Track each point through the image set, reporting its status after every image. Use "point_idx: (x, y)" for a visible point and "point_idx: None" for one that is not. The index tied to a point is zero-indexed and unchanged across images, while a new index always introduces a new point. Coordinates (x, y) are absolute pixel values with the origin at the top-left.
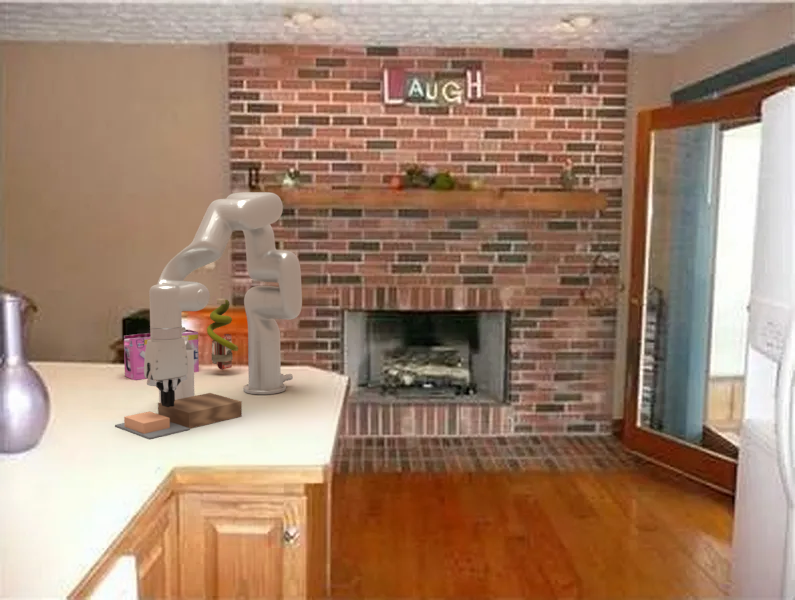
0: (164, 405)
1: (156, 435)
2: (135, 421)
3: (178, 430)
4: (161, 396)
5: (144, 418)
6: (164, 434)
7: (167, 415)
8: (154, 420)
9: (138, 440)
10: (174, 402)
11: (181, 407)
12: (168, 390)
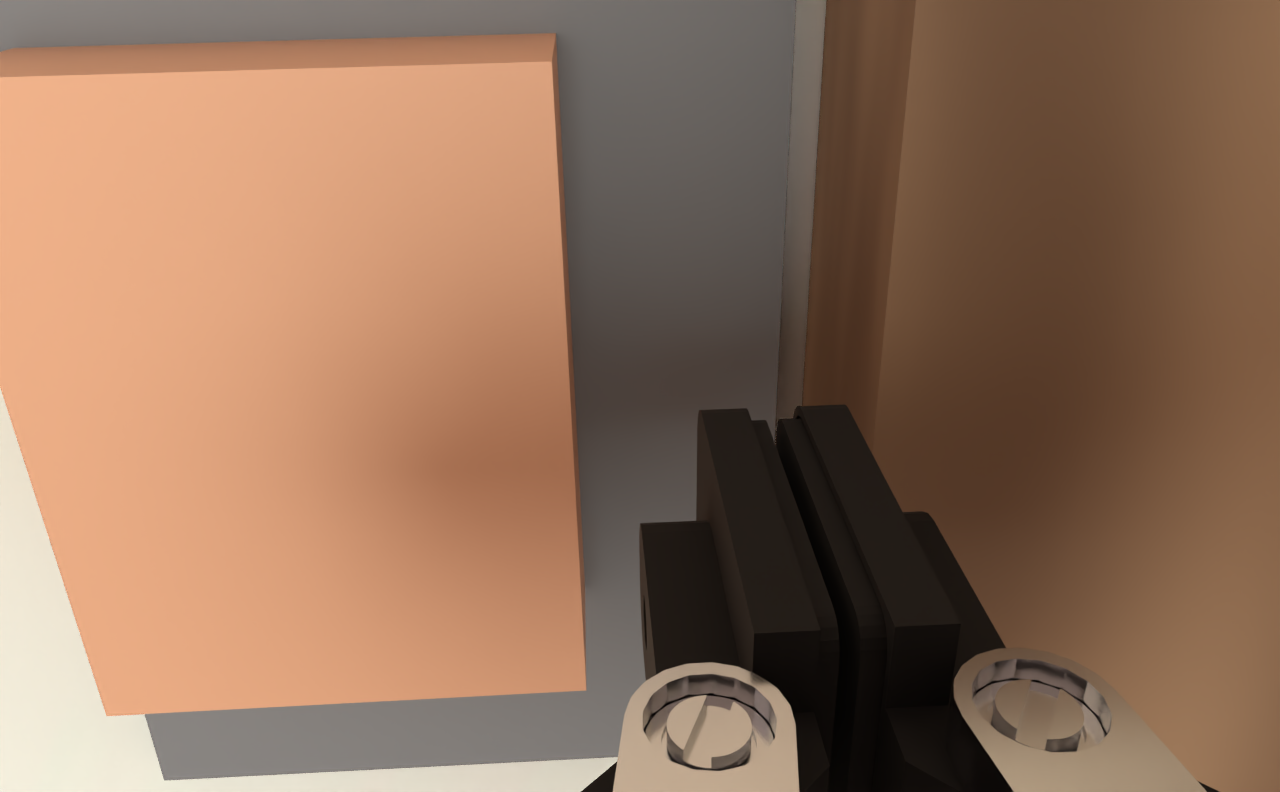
0: (698, 508)
1: (276, 756)
2: (42, 487)
3: (599, 746)
4: (649, 641)
5: (229, 474)
6: (383, 767)
7: (839, 212)
8: (322, 674)
9: (37, 719)
10: (1221, 87)
11: (993, 550)
12: (874, 773)
